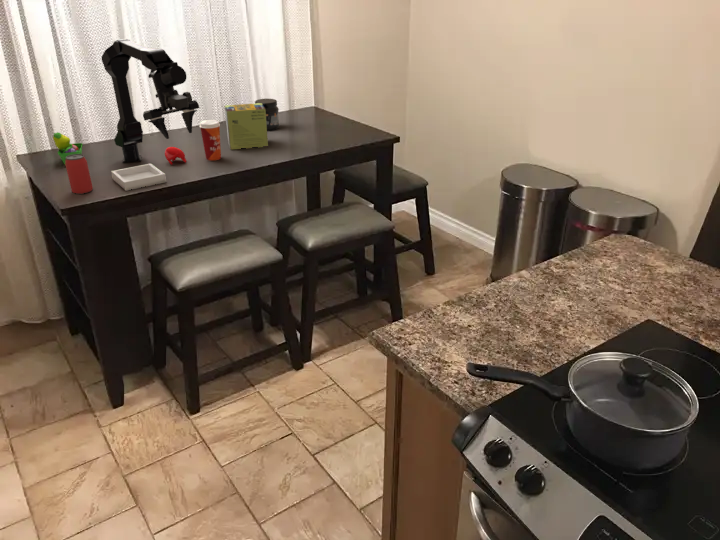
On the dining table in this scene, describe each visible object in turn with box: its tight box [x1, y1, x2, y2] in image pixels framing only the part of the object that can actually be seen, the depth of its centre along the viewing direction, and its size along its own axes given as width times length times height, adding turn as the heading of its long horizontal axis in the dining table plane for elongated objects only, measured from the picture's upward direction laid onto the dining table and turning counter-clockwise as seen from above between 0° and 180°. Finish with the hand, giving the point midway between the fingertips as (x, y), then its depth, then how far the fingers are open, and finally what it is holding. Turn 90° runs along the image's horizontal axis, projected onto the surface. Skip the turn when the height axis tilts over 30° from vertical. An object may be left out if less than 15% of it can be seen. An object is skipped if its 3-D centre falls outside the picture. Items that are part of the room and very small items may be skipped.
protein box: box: [223, 102, 269, 151], centre depth 245 cm, size 10×15×16 cm
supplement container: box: [254, 98, 280, 131], centre depth 268 cm, size 10×10×12 cm
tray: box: [110, 162, 167, 192], centre depth 211 cm, size 14×14×3 cm
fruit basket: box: [52, 131, 83, 166], centre depth 227 cm, size 11×9×11 cm
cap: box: [164, 146, 187, 166], centre depth 228 cm, size 8×6×6 cm
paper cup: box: [199, 119, 222, 161], centre depth 230 cm, size 8×8×14 cm
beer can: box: [65, 154, 94, 195], centre depth 200 cm, size 7×7×12 cm
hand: (179, 135), depth 206 cm, fingers open, 9 cm apart
